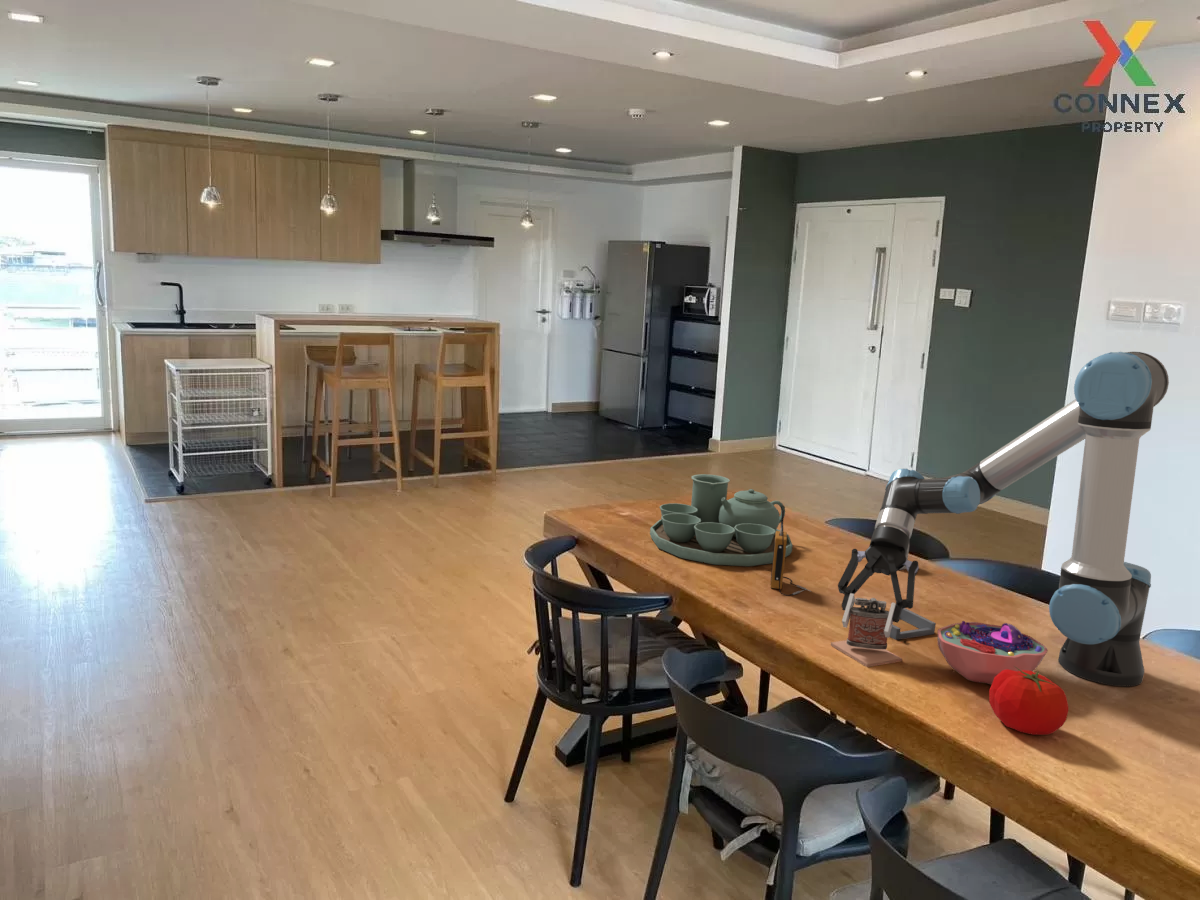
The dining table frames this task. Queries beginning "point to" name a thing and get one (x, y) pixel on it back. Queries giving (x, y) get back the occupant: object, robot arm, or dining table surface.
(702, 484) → the tea set
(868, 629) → the lighter
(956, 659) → the cell model
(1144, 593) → the robot arm
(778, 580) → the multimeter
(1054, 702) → the tomato
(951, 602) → the dining table surface
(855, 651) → the mat
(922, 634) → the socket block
